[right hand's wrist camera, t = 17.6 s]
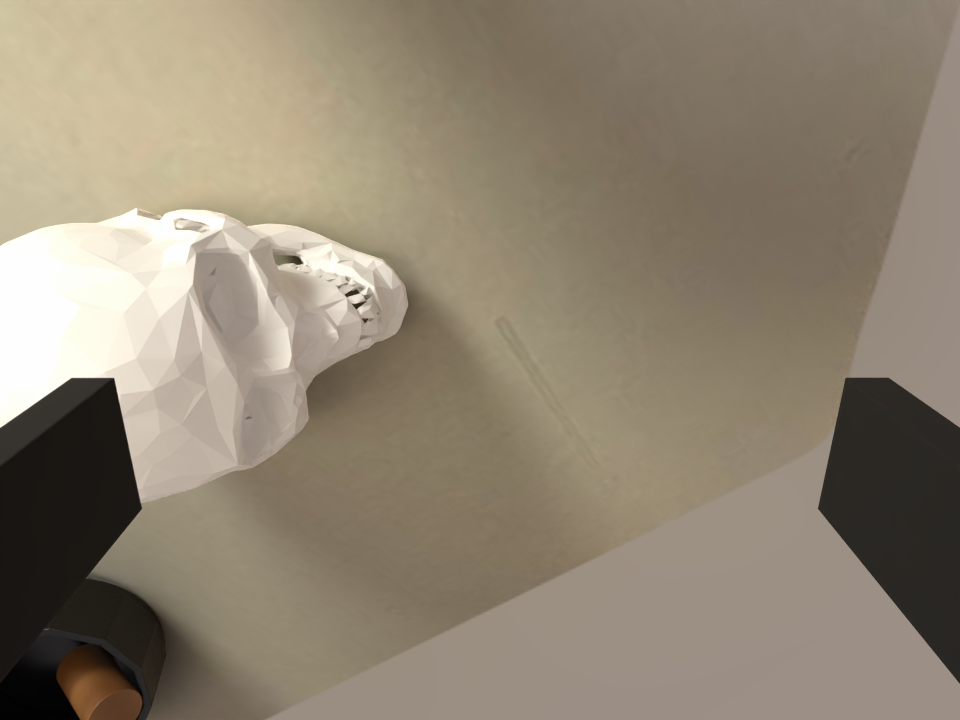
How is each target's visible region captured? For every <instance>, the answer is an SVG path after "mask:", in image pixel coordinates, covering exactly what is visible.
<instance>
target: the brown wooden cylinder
mask: <svg viewBox="0 0 960 720" xmlns="http://www.w3.org/2000/svg"><path fill="white" fill-rule="evenodd" d="M56 678H57V681H58V683H59V685H60V687H61V688H62V690H63V692H64V693H65V695H66V697H67V698H68V700H69V702H70V703H71V705H72V707H73V708H74V710H75V712H76V713H77V715H78V717H79V718H80V720H136V718H137V717H138V715H139V713H140V711H141V708H142V697H141V695H140V694H139V692H138V691H137V689H136V688H135V687H134V685H133V684H132V682H131V681H130V680H129V678H128V677H127V676H126V674H125V673H124V671H123V670H122V669H121V667H120V666H119V665H118V663H117V662H116V660H115V659H114V658H113V656H112V655H111V653H109V652H108V651H107V650H105V649H104V648H103V647H102V646H100V645H96V644H91V643H88V644H84V645H82V646H79V647H77V648H75V649H74V650H72V651H71V652H70V653H69V654H67V655H66V656H65V657H64V659H63V660H62V661H61V663H60V665H59V666H58V669H57V673H56Z"/></svg>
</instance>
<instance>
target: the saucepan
mask: <svg viewBox="0 0 960 720" xmlns="http://www.w3.org/2000/svg"><path fill="white" fill-rule="evenodd" d="M88 643H91V644H96V645H100V646H102V647H103V648H104V649H105V650H107V651H108V652H109V653H111V655H112V656H113V658H114V659H115V660H116V662H117V663H118V665H119V666H120V667H121V669H122V670H123V671H124V673H125V674H126V676H127V677H128V678H129V680H130V681H131V682H132V684H133V685H134V687H135V688H136V689H137V691H138V692H139V694H140V695H141V697H142V708H141V711H140V713H139V715H138V717H137V718H136V720H146V718H147V716H148V713H149V711H150V709H151V707H152V703H153V700H154V696H155V693H156V689H157V686H158V682H159V678H160V675H161V671H162V668H163V664H164V661H165V657H166V653H165V640H164V634H163V630H162V628H161V625H160V623H159V621H158V619H157V617H156V615H155V614H154V613H153V612H152V610H151V609H150V608H149V607H148V606H147V605H146V604H145V603H144V602H143V601H142V600H140V599H139V598H138V597H136V596H135V595H134V594H132V593H130V592H128V591H126V590H125V589H122V588H120V587H118V586H115V585H112V584H109V583H105V582H102V581H97V580H91V579H85V580H84V581H83V582H82V583H81V584H80V586H79V587H78V588H77V589H76V591H75V592H74V593H73V594H72V596H71V597H70V598H69V599H68V601H67V602H66V603H65V604H64V605H63V607H62V608H61V609H60V610H59V612H58V613H57V614H56V615H55V617H54V618H53V619H52V620H51V621H50V623H49V624H48V625H47V626H46V628H45V629H44V630H43V631H42V633H41V634H40V635H39V636H38V638H37V639H36V640H35V641H34V642H33V644H32V645H31V646H30V647H29V649H28V650H27V651H26V652H25V654H24V655H23V656H22V657H21V658H20V660H19V661H18V662H17V663H16V665H15V666H14V667H13V668H12V670H11V671H10V672H9V673H8V675H7V676H6V677H5V678H4V679H3V681H2V682H1V683H0V720H80V718H79V717H78V715H77V713H76V712H75V710H74V708H73V707H72V705H71V703H70V702H69V700H68V698H67V697H66V695H65V693H64V692H63V690H62V688H61V687H60V685H59V683H58V681H57V678H56V673H57V669H58V666H59V665H60V663H61V661H62V660H63V659H64V657H65V656H66V655H67V654H69V653H70V652H71V651H72V650H74V649H75V648H77V647H79V646H82V645H84V644H88Z"/></svg>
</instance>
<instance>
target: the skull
mask: <svg viewBox="0 0 960 720" xmlns="http://www.w3.org/2000/svg"><path fill="white" fill-rule="evenodd" d="M181 218H183V219H188V220H179V219H181ZM192 220H193V221H192ZM194 221H197V222H202V223H204V224H206V225H207V226H206V225H202V224H199V223H197V222H194ZM273 255H283V256H297V257H299V258H300V259H301V262H302V264H301V265H296V264H294V263H292V264H281V265H280V266H278V265H276V263H275V260H274V258H273ZM346 283H348V285H344V284H346ZM340 286H341V287H340ZM338 287H340V288H339V289H338ZM355 289H356V290H358V291H359V292H360V293H359V294H357V295H353V296H349V297H348V298H347V297H346V296H345V294H346V293H348V292H349V291H354V290H355ZM364 296H365V297H366V298H367V300H366V299H365V297H364ZM364 301H367V302H366V303H364V304H363V305H362V306H360V307H359V308H358V309H355V308H354V306H353V305H352V304H356V303H360V302H364ZM407 308H408V300H407V293H406V287H405V285H404V284H403V282H402V281H401V279H400V278H399V277H398V275H397V274H396V272H395V271H394V270H393V269H392V268H391V267H390V266H389V265H388V264H387V263H386V262H385V261H384V260H383V259H380V258H377V257H374V256H371V255H368V254H365V253H362V252H359V251H356V250H353V249H351V248H348V247H346V246H344V245H342V244H339V243H337V242H335V241H333V240H331V239H328V238H326V237H324V236H322V235H319V234H317V233H314V232H311V231H309V230H306V229H303V228H300V227H298V226H292V225H283V224H261V225H253V226H246V225H244V224H243V223H242V222H241V221H239V220H237V219H234V218H232V217H230V216H228V215H226V214H222V213H218V212H213V211H208V210H186V209H181V210H177V211H172V212H169V213H166V214H165V215H164V216H160V215H157V214H154V213H151V212H148V211H145V210H142V209H139V208H136V209H134V210H132V211H130V212H128V213H126V214H124V215H121V216H118V217H115V218H112V219H108V220H105V221H102V222H99V223H70V224H61V225H55V226H49V227H45V228H42V229H38V230H36V231H33V232H31V233H28V234H26V235H24V236H21V237H19V238H16V239H14V240H11V241H9V242H6V243H5V244H3V245H2V246H0V428H1V427H2V426H3V425H5V424H6V423H8V422H9V421H11V420H12V419H13V418H15V417H16V416H18V415H19V414H21V413H22V412H23V411H25V410H26V409H28V408H29V407H31V406H32V405H33V404H35V403H36V402H38V401H39V400H41V399H42V398H43V397H45V396H46V395H48V394H49V393H51V392H52V391H53V390H55V389H56V388H58V387H59V386H61V385H62V384H63V383H65V382H66V381H68V380H69V379H71V378H114V379H115V384H116V388H117V393H118V398H119V403H120V407H121V412H122V417H123V422H124V426H125V431H126V436H127V440H128V445H129V450H130V455H131V459H132V464H133V469H134V474H135V478H136V483H137V488H138V493H139V497H140V502H141V503H144V502H149V501H153V500H156V499H160V498H163V497H167V496H170V495H173V494H177V493H180V492H183V491H187V490H190V489H194V488H196V487H199V486H201V485H203V484H205V483H207V482H210V481H212V480H214V479H216V478H219V477H221V476H223V475H225V474H227V473H230V472H233V471H240V470H246V469H250V468H254V467H255V466H257V465H258V464H260V463H261V462H263V461H265V460H266V459H268V458H269V457H271V456H272V455H274V454H275V453H277V452H278V451H279V450H281V449H282V448H283V447H284V446H285V445H286V444H287V443H289V442H290V441H291V440H292V439H293V438H294V437H295V436H296V435H297V434H298V433H299V432H300V431H301V430H302V429H303V428H304V427H305V425H306V423H307V422H308V420H309V415H308V406H307V397H306V390H307V388H308V386H309V385H310V383H311V382H312V380H313V379H314V377H315V376H316V375H318V374H319V373H321V372H322V371H324V370H325V369H327V368H328V367H330V366H331V365H333V364H334V363H336V362H338V361H341V360H343V359H345V358H347V357H349V356H351V355H352V354H356V353H358V352H360V351H362V350H365V349H368V348H369V347H370V346H371V345H373V344H374V343H375V342H379V341H383V340H385V339H387V338H389V337H391V336H393V335H395V334H396V333H397V332H398V330H399V329H400V327H401V324H402V321H403V319H404V316H405V313H406V310H407ZM365 318H368V320H367V322H366V323H364V321H363V320H362V319H365Z"/></svg>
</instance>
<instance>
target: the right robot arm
mask: <svg viewBox="0 0 960 720" xmlns="http://www.w3.org/2000/svg"><path fill="white" fill-rule="evenodd" d="M141 509H142V507H141V502H140V497H139V493H138V488H137V483H136V478H135V474H134V469H133V464H132V459H131V455H130V450H129V445H128V440H127V436H126V431H125V426H124V422H123V417H122V412H121V407H120V403H119V398H118V393H117V388H116V384H115V379H114V378H71V379H69V380H68V381H66V382H65V383H63V384H62V385H61V386H59V387H58V388H56V389H55V390H53V391H52V392H51V393H49V394H48V395H46V396H45V397H43V398H42V399H41V400H39V401H38V402H36V403H35V404H33V405H32V406H31V407H29V408H28V409H26V410H25V411H23V412H22V413H21V414H19V415H18V416H16V417H15V418H13V419H12V420H11V421H9V422H8V423H6V424H5V425H3V426H2V427H1V428H0V683H1V682H2V681H3V679H4V678H5V677H6V676H7V675H8V673H9V672H10V671H11V670H12V668H13V667H14V666H15V665H16V663H17V662H18V661H19V660H20V658H21V657H22V656H23V655H24V654H25V652H26V651H27V650H28V649H29V647H30V646H31V645H32V644H33V642H34V641H35V640H36V639H37V638H38V636H39V635H40V634H41V633H42V631H43V630H44V629H45V628H46V626H47V625H48V624H49V623H50V621H51V620H52V619H53V618H54V617H55V615H56V614H57V613H58V612H59V610H60V609H61V608H62V607H63V605H64V604H65V603H66V602H67V601H68V599H69V598H70V597H71V596H72V594H73V593H74V592H75V591H76V589H77V588H78V587H79V586H80V584H81V583H82V582H83V581H84V580H85V578H86V577H87V576H88V575H89V573H90V572H91V571H92V570H93V568H94V567H95V566H96V565H97V564H98V562H99V561H100V560H101V559H102V557H103V556H104V555H105V554H106V552H107V551H108V550H109V549H110V547H111V546H112V545H113V544H114V543H115V541H116V540H117V539H118V538H119V536H120V535H121V534H122V533H123V531H124V530H125V529H126V528H127V527H128V525H129V524H130V523H131V522H132V520H133V519H134V518H135V517H136V515H137V514H138V513H139V512H140V510H141ZM818 509H819V510H820V512H821V513H822V514H823V515H824V517H825V518H826V519H827V520H828V522H829V523H830V524H831V525H832V527H833V528H834V529H835V530H836V531H837V533H838V534H839V535H840V536H841V538H842V539H843V540H844V541H845V543H846V544H847V545H848V546H849V547H850V549H851V550H852V551H853V552H854V554H855V555H856V556H857V557H858V559H859V560H860V561H861V562H862V564H863V565H864V566H865V567H866V568H867V570H868V571H869V572H870V573H871V575H872V576H873V577H874V578H875V580H876V581H877V582H878V583H879V584H880V586H881V587H882V588H883V589H884V591H885V592H886V593H887V594H888V596H889V597H890V598H891V599H892V600H893V602H894V603H895V604H896V605H897V607H898V608H899V609H900V610H901V612H902V613H903V614H904V615H905V617H906V618H907V619H908V620H909V621H910V623H911V624H912V625H913V626H914V628H915V629H916V630H917V631H918V633H919V634H920V635H921V636H922V638H923V639H924V640H925V641H926V642H927V644H928V645H929V646H930V647H931V648H932V650H933V651H934V652H935V653H936V655H937V656H938V657H939V658H940V660H941V661H942V662H943V663H944V665H945V666H946V667H947V668H948V670H949V671H950V672H951V673H952V674H953V676H954V677H955V678H956V679H957V681H958V682H959V683H960V428H959V427H958V426H957V425H955V424H954V423H952V422H951V421H949V420H948V419H947V418H945V417H944V416H942V415H941V414H939V413H938V412H937V411H935V410H934V409H932V408H931V407H929V406H928V405H926V404H925V403H924V402H922V401H921V400H919V399H918V398H916V397H915V396H914V395H912V394H911V393H909V392H908V391H907V390H905V389H904V388H902V387H901V386H899V385H898V384H897V383H895V382H894V381H892V380H891V379H889V378H846V379H845V384H844V388H843V393H842V398H841V403H840V407H839V412H838V417H837V422H836V426H835V431H834V436H833V440H832V445H831V450H830V455H829V459H828V464H827V469H826V474H825V479H824V483H823V488H822V493H821V497H820V502H819V507H818Z"/></svg>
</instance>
